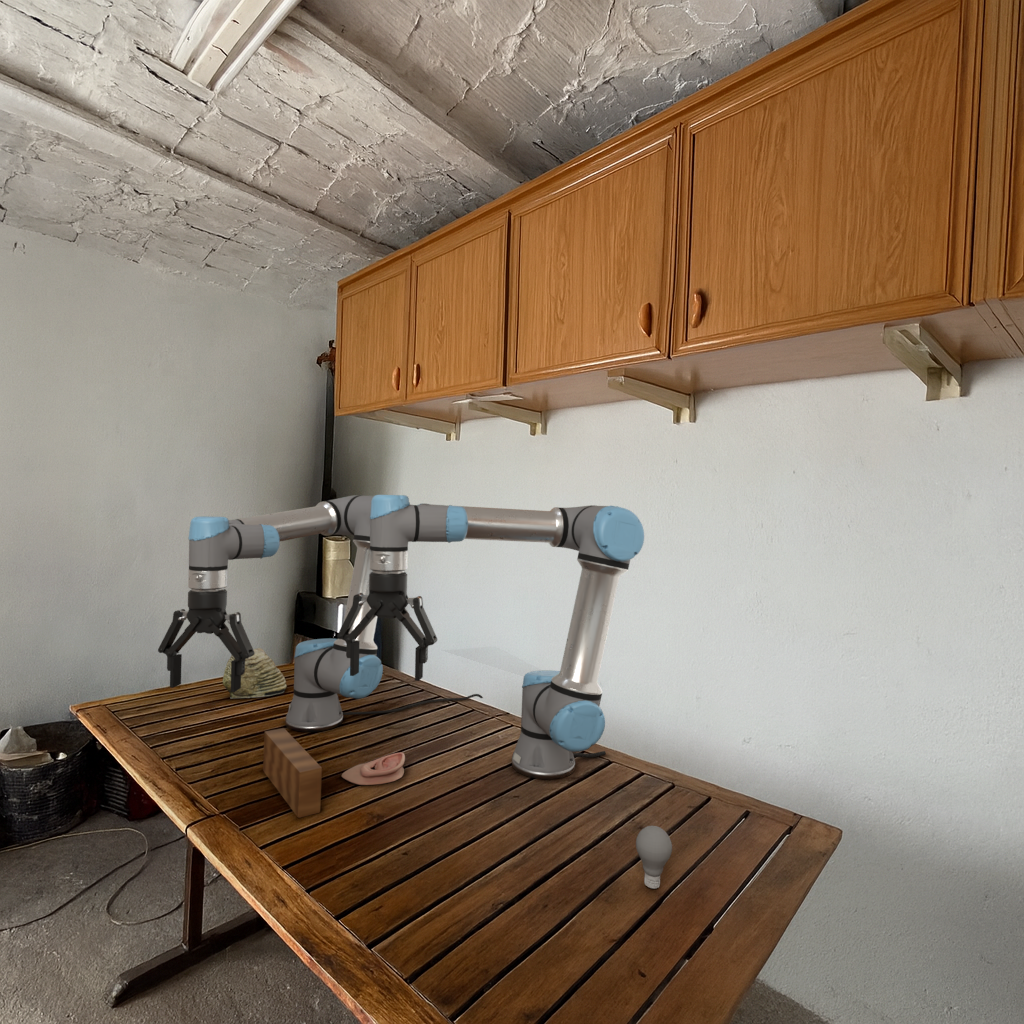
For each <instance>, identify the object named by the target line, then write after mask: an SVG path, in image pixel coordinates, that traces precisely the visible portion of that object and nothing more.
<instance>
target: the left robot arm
mask: <svg viewBox="0 0 1024 1024" xmlns="http://www.w3.org/2000/svg"><path fill="white" fill-rule="evenodd" d="M374 496H375V495H362V494H354V495H348V496H343V497H339V498H334V499H328V500H324V501H320V502H318V503H317V504H316V505H315V506H310V507H304V508H297V509H291V510H284V511H278V512H271V513H266V514H259V515H253V516H246V517H241V518H240V517H239V518H235V519H229V518H228V517H225V516H210V515H209V516H207V515H206V516H200V515H199V516H194V517H193V518H191V520H190V524H189V531H188V577H187V578H188V583H187V584H188V585H187V587H188V588H189V589H190V590H189V591H188V592H187V607H188V611H187V610H186V609H184V608H180V609H178V610H175V611H173V614H172V620H171V623H170V625H169V627H168V629H167V631H166V633H165V634H164V637H163V639H162V641H161V643H160V645H159V647H158V649H157V652H158V653H159V654H164V655H165V656H166V669H167V672H169V688H170V689H174V688H176V687H178V686H181V685H182V659H183V657H182V655H183V654H182V653H180V651H181V650H182V649H183V648H184V646H185V645H186V644H187V643H188V642H189V641H190V639H191V638H192V637H193V636H194V635H195V634H196V633H197V634H203V633H205V634H207V635H212V634H214V635H215V636H216V637H217V638H218V639H219V640H220V641H221V643H222V644H223V645H224V646H225V648H226V649H227V651H228V652H229V653H230V654H231V655H232V656H233V657H234V658H235V660H233V661H231V692H235V691H237V690H239V689H240V688H241V675H243V674H244V672H245V659H247V658H249V657H251V656H253V655H254V650H253V649H254V647H253V645H252V643H251V641H250V638H249V636H248V634H247V632H246V630H245V627H244V625H243V623H242V615H241V612H240V611H236V612H234V613H227V606H228V591H227V589H225V588H227V587H228V570H229V569H228V568H229V567H228V566H229V561H233V560H244V559H245V560H246V559H247V560H248V559H263V558H270V557H273V556H275V555H276V554H277V552H278V551H279V548H280V542H285V541H290V540H294V539H301V538H304V537H310V536H314V535H319V534H321V535H323V536H326V537H327V536H328V537H329V536H332V535H333V536H334V535H345V536H353V539H352V542H353V543H354V545H355V547H356V554H355V558H354V565H353V570H352V575H351V579H350V580H351V581H350V585H349V591H348V597H347V602H346V606H345V612H344V618H343V622H344V621H345V619H346V617H347V615H348V613H349V611H350V609H351V607H352V604H353V597H354V595H356V594H359V593H363V595H367V596H368V595H369V574H370V573H371V572H373V571H372V570H371V569H370V568H369V567H370V516H371V501H372V498H373V497H374ZM370 609H371V607H370V606H369V604H368V603H367V601H366V602H365V604H364V605H362V607H361V610H360V612H359V614H358V615H357V617H356V619H355V621H354V623H353V625H352V627H351V629H350V631H349V634H350V633H351V632H352V631H353V630H354V628H355V627H356V626H357V625H358V624H359V623H360V621H361V620H362V619H363V618H364V617H365V615H366V614H367V613H368V612H369V610H370ZM186 620H187V621H188V622H189V624H188V625H187V626H186V627H185V629H184V631H183V632H182V633H181V635H180V636H179V637H178V635H179V632H180V631H181V629H182V628H183V625H184V623H185V621H186ZM226 621H227V623H228V624H229V626H230V629H231V631H232V633H231V632H230V629H229V627H228V626H227V624H226ZM377 622H378V617H377V616H376V617H375V618H374V619H373V620H372V621H371V622H370V623H369V624H368V625H367V627H366V628H365V629H364V630H363V631H362V632H361V634H360V635H359V636H358V637H357V639H356V640H355V641H360V642H359V673H357V674H356V675H354V676H350V658H347V656H346V641H344V640H342V639H338V638H331V637H329V638H317V639H316V638H315V639H308V640H304V641H301V642H299V643H298V644H297V645H296V646H295V652H294V656H293V658H294V670H293V671H294V672H293V695H292V696H293V697H292V699H291V702H290V703H289V705H288V711H287V713H286V715H285V726H286V728H287V729H289V730H291V731H294V732H295V731H296V732H301V733H316V732H325V731H329V730H332V729H335V728H337V727H339V726H340V725H342V723H343V722H344V716H353V715H354V716H355V715H359V716H360V715H377V714H387V713H388V714H389V713H394V712H400V711H404V710H406V709H409V708H412V707H415V706H420V705H425V704H429V703H436V702H446V701H447V702H448V701H465V700H469V699H471V698H474V697H478V698H480V699H484V697H483V695H481V694H479V693H473V694H471V695H468V696H465V697H464V696H463V697H447V698H446V697H445V698H436V699H435V698H434V699H427V700H424V701H418V702H415V703H411V704H407V705H405V706H402V707H399V708H395V709H394V708H393V709H387V710H385V709H384V710H373V711H372V710H371V711H345V712H343V709H342V706H341V702H340V699H339V695H340V696H342V697H345V698H348V699H349V698H351V699H355V700H356V699H357V700H358V699H365V698H367V697H368V696H369V695H371V694H372V693H373V692H374V691H375V690H376V689H377V688H378V686H379V685H380V682H381V681H382V677H383V673H384V665H383V664H382V660H381V659H380V658H379V657H378V656H377V654H378V645H377V644H376V643H375V641H374V639H375V633H376V628H377ZM232 634H233V635H232ZM177 637H178V638H177Z"/></svg>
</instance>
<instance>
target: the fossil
mask: <svg viewBox="0 0 1024 1024" xmlns="http://www.w3.org/2000/svg"><path fill="white" fill-rule="evenodd" d="M253 650H254V655H253V656H251V657H249V658H247V659H245V672H244V674H243V675H241V688H240V689H239V690H237V691H235V692H231V661H233V660H235V658H234V657H233V656H232V654H231V656H230V657H229V659H228V660H227V663H226V666H225V668H224V671H223V675H222V676H223V677H222V685H223V687H224V688H225V690H226V691H228V693H229V698H230V699H250V698H264V697H271V696H275V695H281V694H284V693H285V691H286V689H287V687H288V686H287V680H286V678H285V676H284V674H283V673H282V672H281V669H279V668H278V667H277V665H276V663H275V662H274V660H273V659H272V658H271V657H270V656H269V655H268V654H267V653H266V652H265V650H264V649H263V648H260V647H258V648H253Z"/></svg>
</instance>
